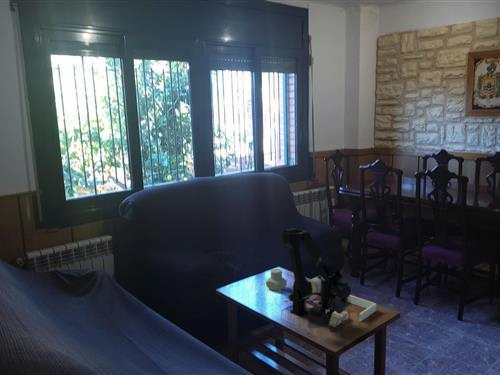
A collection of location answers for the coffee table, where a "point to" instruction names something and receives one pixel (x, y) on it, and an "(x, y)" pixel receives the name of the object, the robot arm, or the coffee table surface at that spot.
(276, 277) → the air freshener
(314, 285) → the ceramic mug
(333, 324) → the tile
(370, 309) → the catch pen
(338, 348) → the coffee table surface
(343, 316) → the tile
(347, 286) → the robot arm
